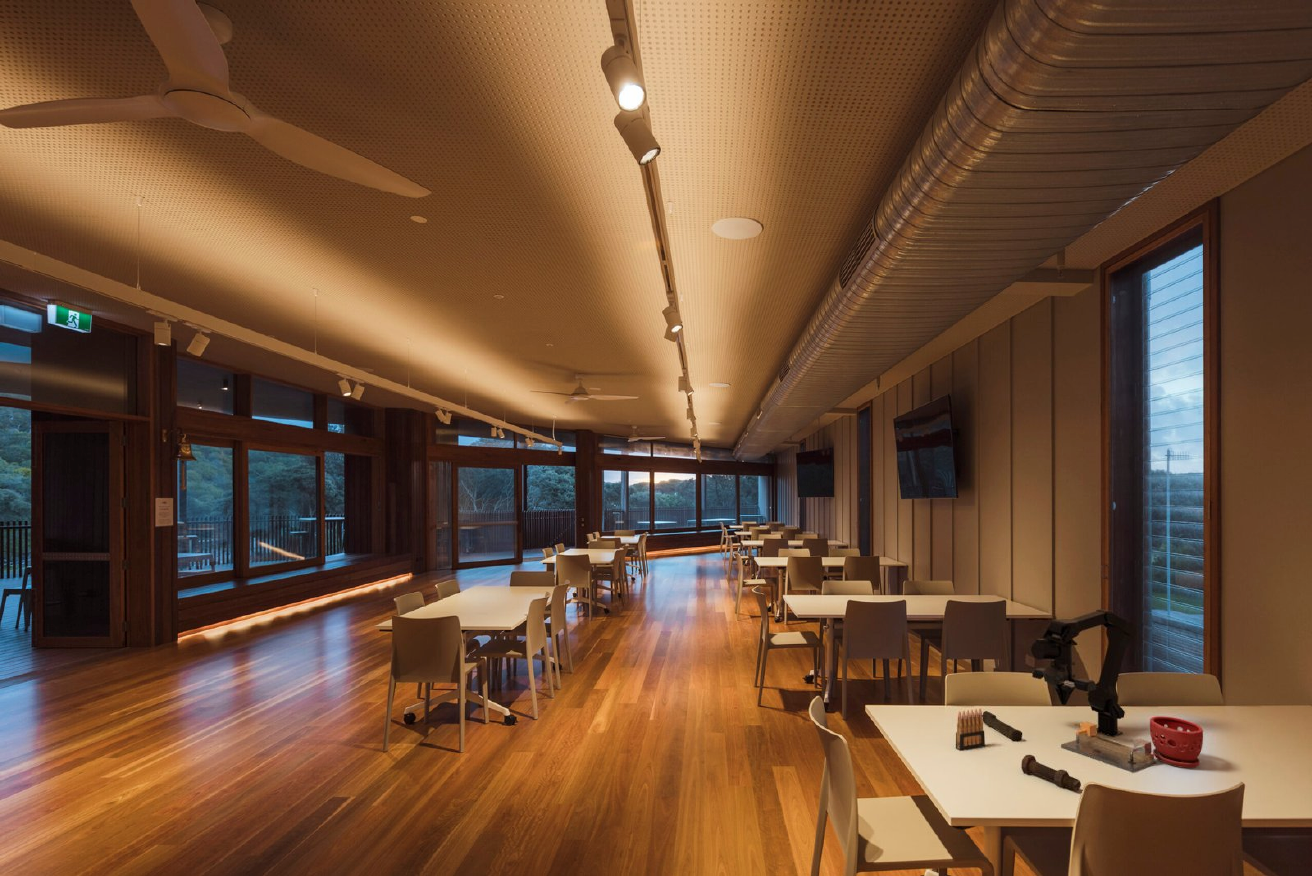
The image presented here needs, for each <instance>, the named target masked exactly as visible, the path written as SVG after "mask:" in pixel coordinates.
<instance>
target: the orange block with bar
mask: <svg viewBox="0 0 1312 876" xmlns="http://www.w3.org/2000/svg"><path fill="white" fill-rule="evenodd" d="M1079 725H1080V727H1079V730H1076V731H1075V740H1076V743H1077V744H1079V735H1081V734H1084V735H1087V736H1093V735H1094V736H1097V735H1098V732H1097V728H1098V724H1095V723H1092V722H1090V721H1085V722H1080V724H1079Z"/></svg>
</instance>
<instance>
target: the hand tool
mask: <svg viewBox="0 0 1312 876" xmlns="http://www.w3.org/2000/svg"><path fill="white" fill-rule="evenodd" d="M982 719H983V724H984V725H986V726H987V727H989V728H991V729H992V728H993V729H995V731H998V732H999V733H1001V734H1003V735H1004V736H1006V737H1007V738H1009V739H1010V740H1011V741H1012V742H1013V743H1014V742H1019V743H1020V742H1021V741H1022V739H1023V732H1022V730H1020V729H1016V728H1014V727H1013V726H1011V725H1009V724H1006V723H1005V722H1003V721H1001V720H1000V719H998V718H997V716H996V715H995V714H993V713H992V712H990V711H987V710H985V711H982Z"/></svg>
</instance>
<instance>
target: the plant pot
mask: <svg viewBox="0 0 1312 876" xmlns="http://www.w3.org/2000/svg"><path fill="white" fill-rule="evenodd" d="M1166 726H1167V727H1166ZM1179 728H1181V729H1182V730H1179ZM1149 733H1150V737H1151V741H1152V742H1151V743H1152V745H1153V746H1154V748H1153V750H1152V754H1154V758H1157V759H1156V760H1159V761H1160V762H1162V763H1165V764H1167V765H1170V766H1174V767H1177V768H1186V769H1193V768H1196V767H1198V766H1199V765H1200V763H1201V761H1200V759H1199V756H1200V755H1201V752H1202V751H1203V745H1204V730H1203V728H1202V727H1201V726H1200V725H1199V724H1197V723H1194V722H1191V721H1189V720H1186V719H1181V718H1177V717H1173V716H1165V715H1164V716H1161V715H1158V716H1152V717H1150V719H1149Z"/></svg>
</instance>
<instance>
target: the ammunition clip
mask: <svg viewBox="0 0 1312 876" xmlns="http://www.w3.org/2000/svg"><path fill="white" fill-rule="evenodd" d="M982 715H983V711H982V709H981V708H979V709H977V708H975V710H973V709H971V710H970V711H969V709H968V710H967V711H966V712H965V710H963V711H962V713H961V711H958V714H957V723H956V732H955V749H956V750H957V751H959V752H962V751H967V750H973V749H978V748H979V749H980V748H985V747H986V741H985V739H986V738H985V730H984V722H983V717H982Z"/></svg>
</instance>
